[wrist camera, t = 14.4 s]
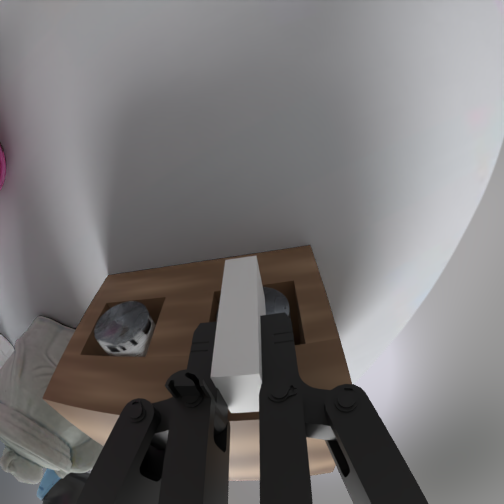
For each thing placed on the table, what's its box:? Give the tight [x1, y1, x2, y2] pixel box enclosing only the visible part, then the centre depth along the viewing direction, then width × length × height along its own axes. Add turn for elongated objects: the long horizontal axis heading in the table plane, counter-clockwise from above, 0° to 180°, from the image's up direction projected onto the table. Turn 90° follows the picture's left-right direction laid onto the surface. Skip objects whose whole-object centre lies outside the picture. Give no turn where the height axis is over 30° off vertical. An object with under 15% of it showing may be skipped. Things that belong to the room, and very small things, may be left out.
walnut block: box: [42, 245, 352, 481], centre depth 18 cm, size 14×16×12 cm
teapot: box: [0, 316, 104, 484], centre depth 20 cm, size 16×15×19 cm
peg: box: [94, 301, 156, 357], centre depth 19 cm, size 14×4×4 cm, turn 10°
